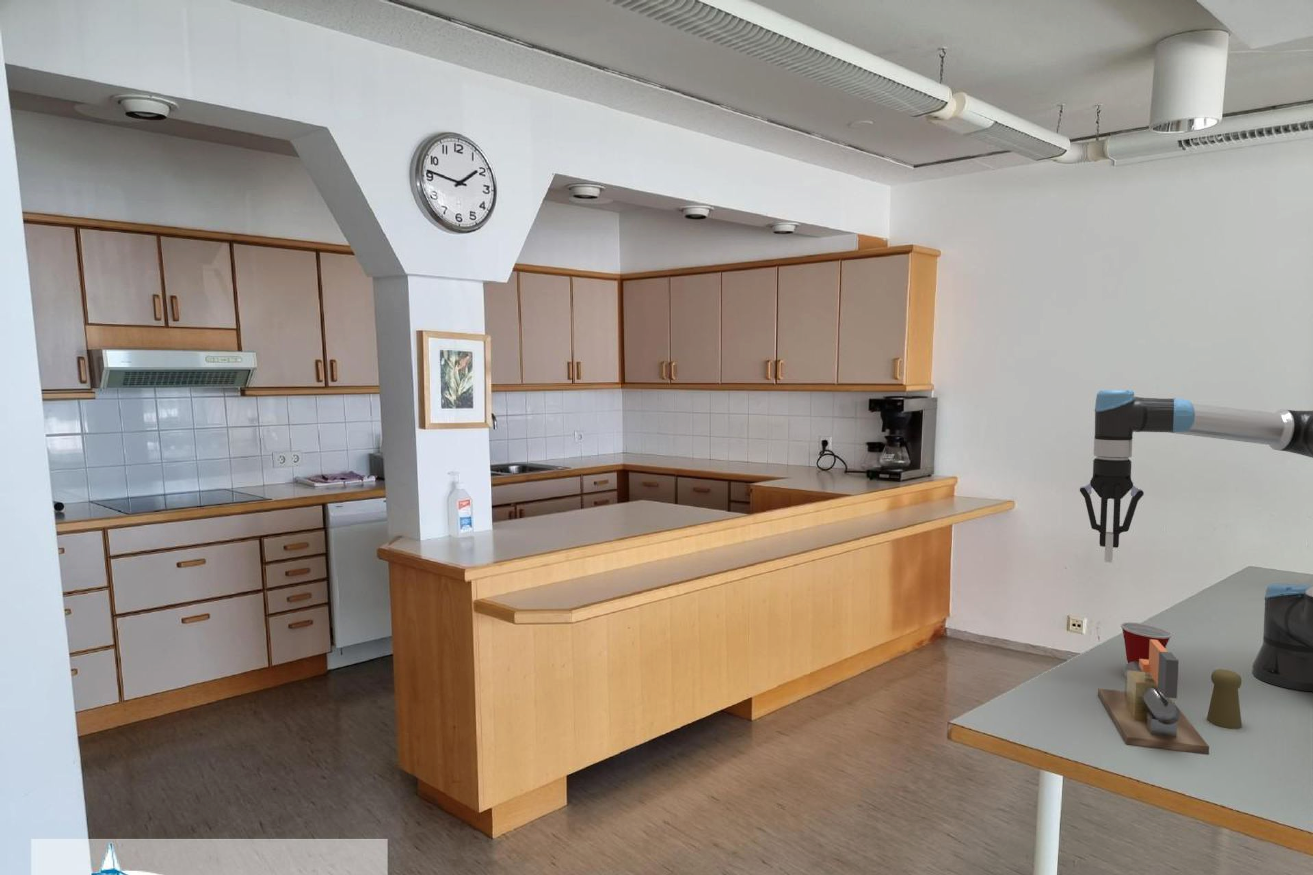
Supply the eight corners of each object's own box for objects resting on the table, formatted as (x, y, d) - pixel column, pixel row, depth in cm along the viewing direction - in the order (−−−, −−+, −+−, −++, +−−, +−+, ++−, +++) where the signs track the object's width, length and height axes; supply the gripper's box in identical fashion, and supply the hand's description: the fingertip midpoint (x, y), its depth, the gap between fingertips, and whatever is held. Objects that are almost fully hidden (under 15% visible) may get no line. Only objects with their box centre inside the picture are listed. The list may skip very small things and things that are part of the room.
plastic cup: (1178, 686, 190) (1180, 635, 189) (1127, 682, 192) (1129, 633, 191) (1159, 669, 200) (1161, 622, 199) (1111, 666, 202) (1113, 619, 202)
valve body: (1151, 695, 180) (1153, 660, 180) (1186, 741, 157) (1188, 701, 157) (1116, 691, 182) (1117, 657, 182) (1145, 736, 160) (1147, 697, 159)
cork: (1242, 730, 166) (1245, 678, 165) (1207, 724, 169) (1209, 672, 168) (1240, 720, 171) (1243, 669, 170) (1206, 714, 174) (1208, 664, 173)
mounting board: (1168, 702, 180) (1168, 695, 180) (1208, 753, 156) (1209, 746, 155) (1097, 694, 184) (1098, 688, 184) (1126, 744, 160) (1126, 736, 160)
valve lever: (1138, 671, 172) (1140, 633, 171) (1158, 673, 170) (1159, 635, 170) (1159, 701, 156) (1161, 659, 155) (1181, 703, 155) (1183, 661, 154)
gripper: (1144, 457, 183) (1140, 560, 185) (1079, 455, 189) (1076, 555, 191) (1147, 460, 177) (1142, 567, 178) (1079, 458, 183) (1076, 561, 184)
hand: (1108, 560), depth 185 cm, fingers closed
